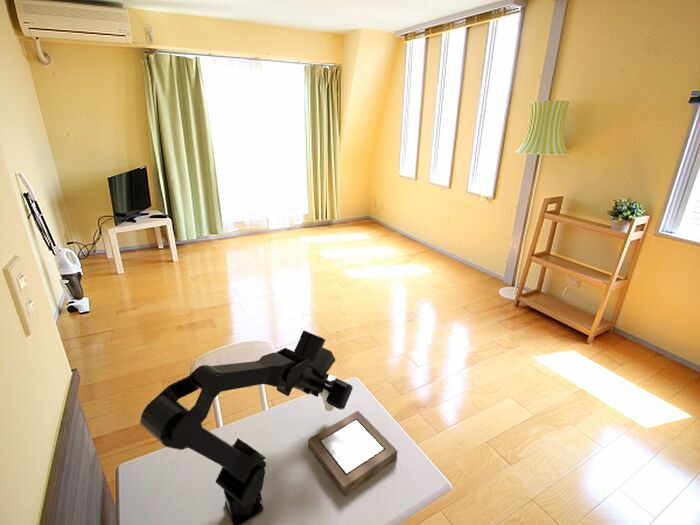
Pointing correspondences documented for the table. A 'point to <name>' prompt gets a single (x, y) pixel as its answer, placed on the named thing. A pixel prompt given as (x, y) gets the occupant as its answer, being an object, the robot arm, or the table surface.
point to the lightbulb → (325, 395)
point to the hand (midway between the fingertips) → (331, 388)
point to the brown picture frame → (361, 473)
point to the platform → (351, 447)
